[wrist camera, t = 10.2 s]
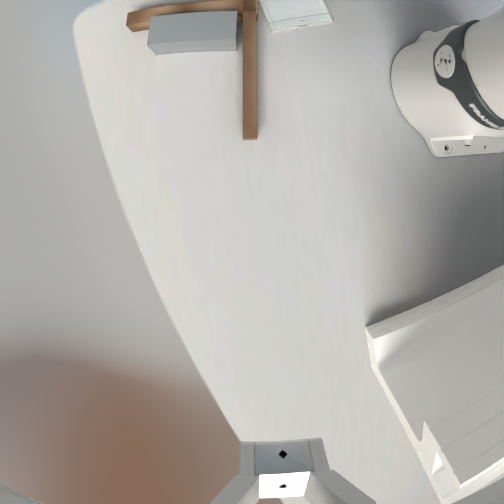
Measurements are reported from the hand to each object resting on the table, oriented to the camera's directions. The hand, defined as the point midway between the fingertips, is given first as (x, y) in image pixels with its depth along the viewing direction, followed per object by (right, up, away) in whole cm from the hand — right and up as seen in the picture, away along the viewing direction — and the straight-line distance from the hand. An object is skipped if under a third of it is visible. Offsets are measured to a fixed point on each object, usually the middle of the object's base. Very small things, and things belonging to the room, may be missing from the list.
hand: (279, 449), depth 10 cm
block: (+33, -2, +31) cm, 45 cm away
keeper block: (-8, +33, +21) cm, 40 cm away
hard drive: (+3, +41, +20) cm, 46 cm away
